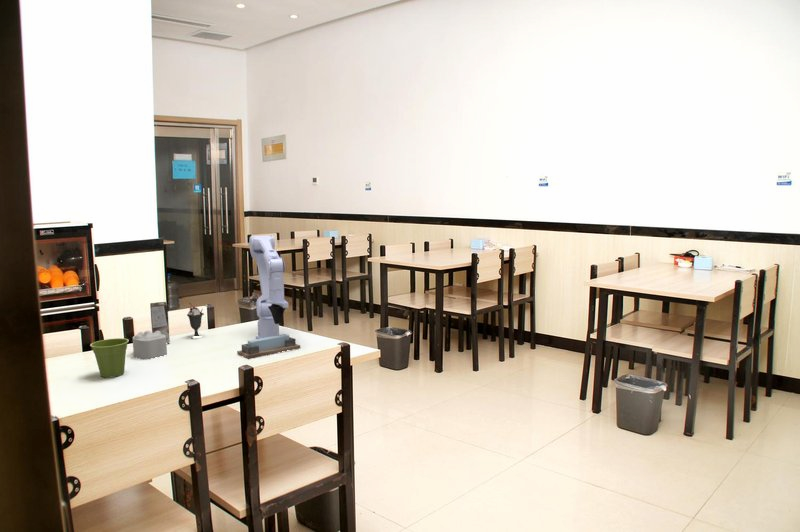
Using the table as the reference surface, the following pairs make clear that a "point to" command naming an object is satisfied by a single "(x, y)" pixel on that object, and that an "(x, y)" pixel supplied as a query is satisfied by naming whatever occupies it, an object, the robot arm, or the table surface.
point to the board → (254, 351)
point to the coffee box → (160, 318)
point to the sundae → (195, 318)
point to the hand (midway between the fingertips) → (277, 323)
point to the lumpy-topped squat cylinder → (149, 345)
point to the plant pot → (110, 356)
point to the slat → (269, 342)
